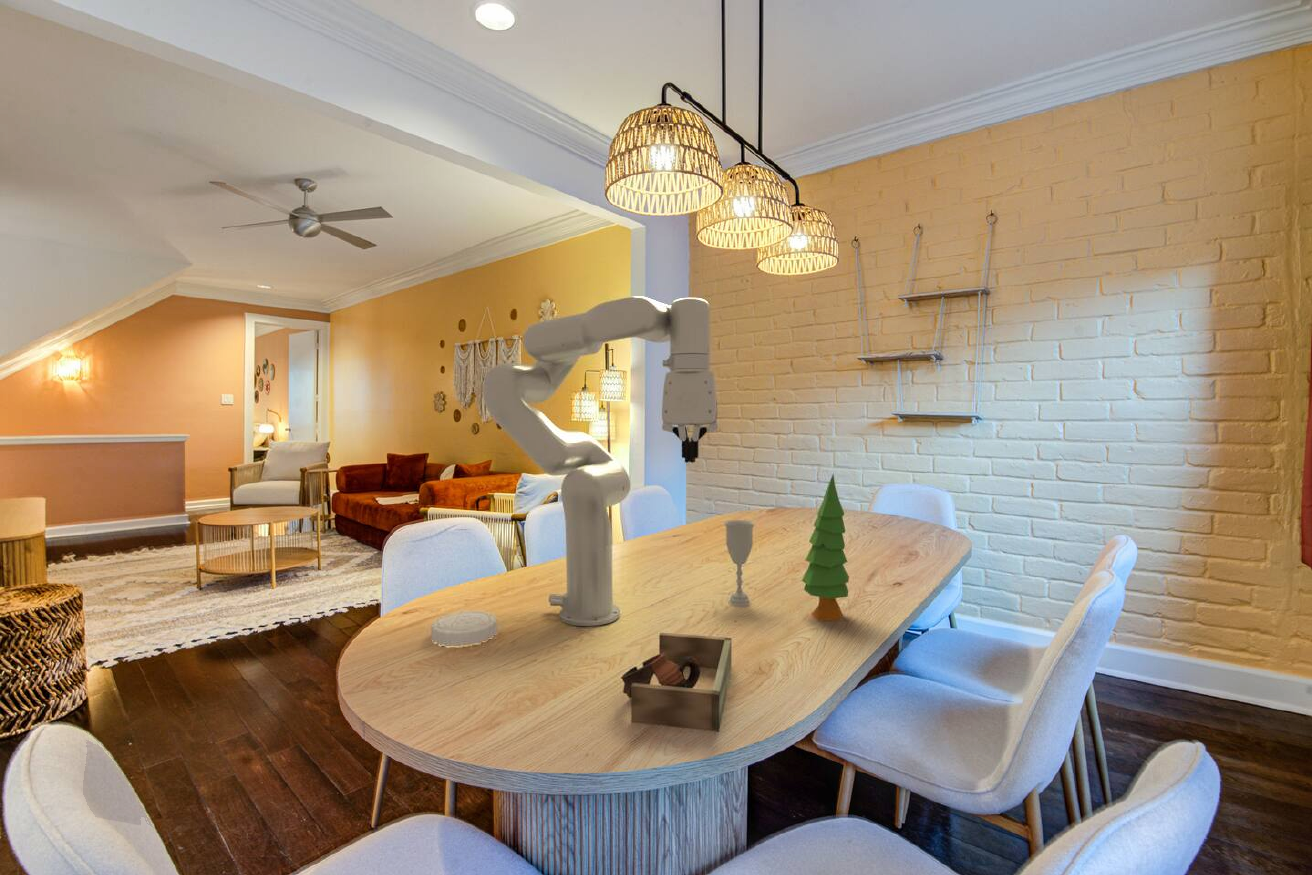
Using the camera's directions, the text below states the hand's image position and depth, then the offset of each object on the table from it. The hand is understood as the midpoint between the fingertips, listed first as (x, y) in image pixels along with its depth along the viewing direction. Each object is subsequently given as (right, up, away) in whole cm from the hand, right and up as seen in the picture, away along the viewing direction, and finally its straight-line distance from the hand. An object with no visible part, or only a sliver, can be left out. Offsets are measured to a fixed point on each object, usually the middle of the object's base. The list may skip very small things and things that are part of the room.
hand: (690, 461), depth 111 cm
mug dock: (-2, -34, -23) cm, 41 cm away
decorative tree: (+29, -33, +10) cm, 45 cm away
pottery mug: (-5, -34, -26) cm, 44 cm away
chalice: (+12, -33, +19) cm, 40 cm away
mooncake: (-43, -34, 0) cm, 55 cm away
